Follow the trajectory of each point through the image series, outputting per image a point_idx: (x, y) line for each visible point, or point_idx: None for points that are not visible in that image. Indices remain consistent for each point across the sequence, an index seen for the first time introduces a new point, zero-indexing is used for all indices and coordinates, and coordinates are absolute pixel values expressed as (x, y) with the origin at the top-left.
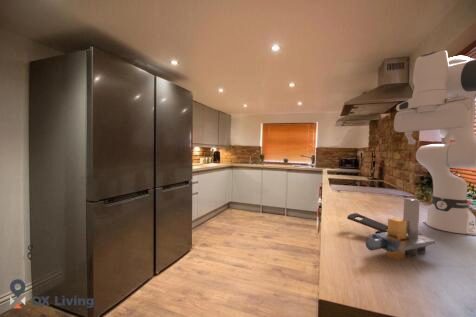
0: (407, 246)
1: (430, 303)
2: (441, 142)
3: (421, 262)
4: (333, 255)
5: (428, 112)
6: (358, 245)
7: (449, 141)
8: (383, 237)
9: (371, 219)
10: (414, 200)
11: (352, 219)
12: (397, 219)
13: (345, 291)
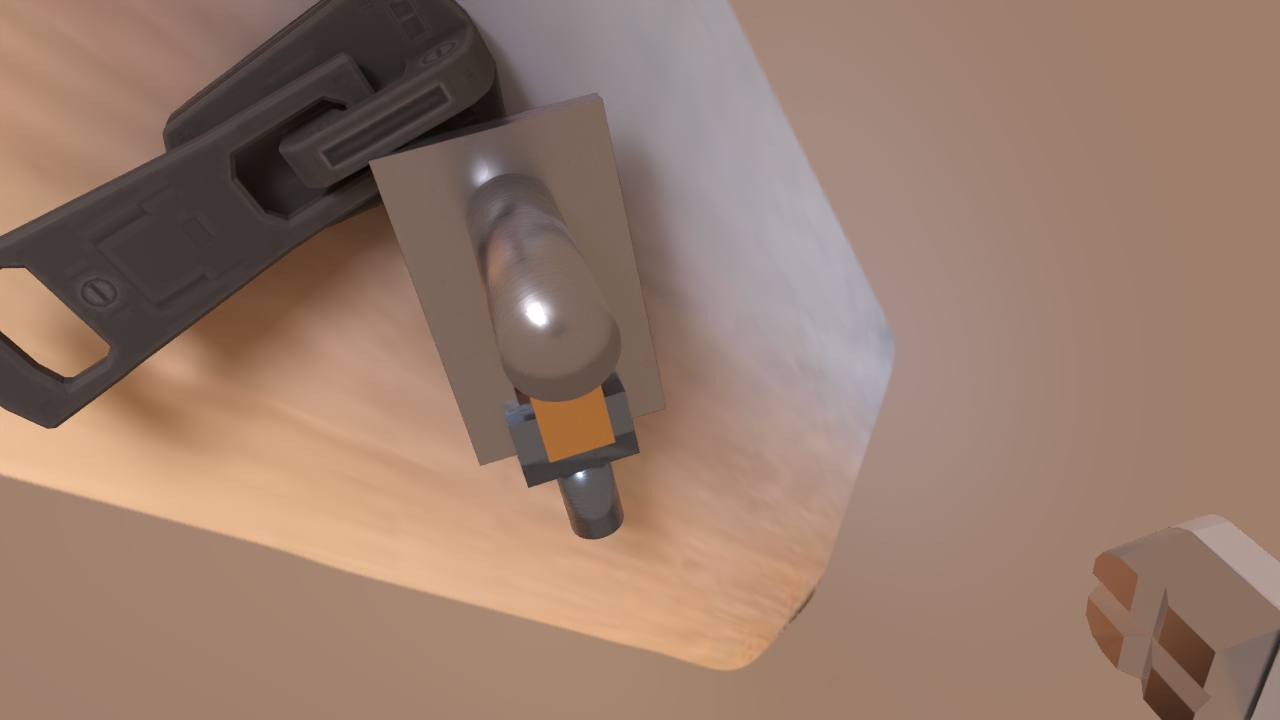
0: (657, 370)
1: (837, 428)
2: (1103, 644)
3: None
4: (490, 572)
5: None
6: (362, 401)
7: (1237, 556)
8: (581, 458)
9: (64, 226)
10: (602, 360)
11: (91, 397)
12: (571, 413)
13: (730, 618)
